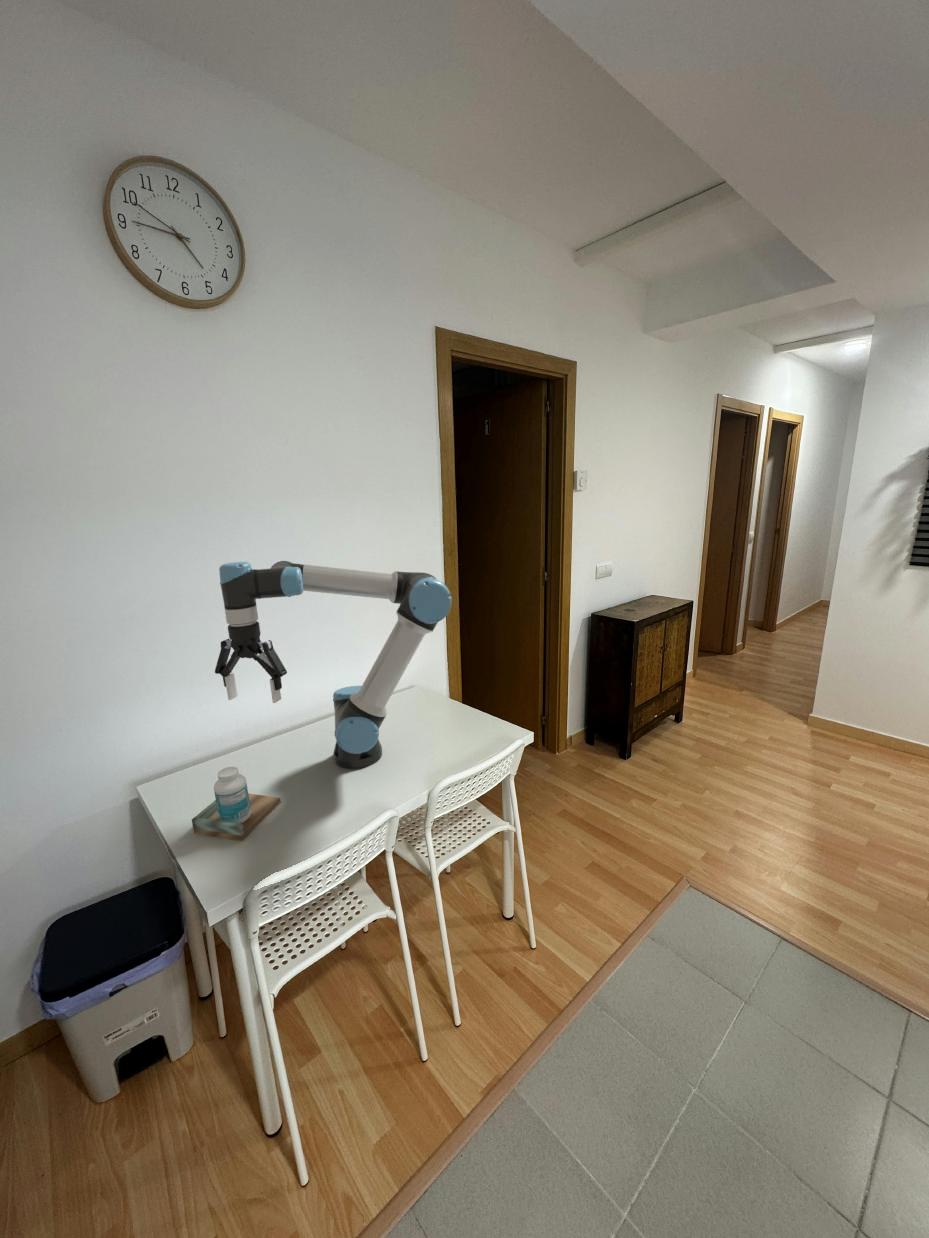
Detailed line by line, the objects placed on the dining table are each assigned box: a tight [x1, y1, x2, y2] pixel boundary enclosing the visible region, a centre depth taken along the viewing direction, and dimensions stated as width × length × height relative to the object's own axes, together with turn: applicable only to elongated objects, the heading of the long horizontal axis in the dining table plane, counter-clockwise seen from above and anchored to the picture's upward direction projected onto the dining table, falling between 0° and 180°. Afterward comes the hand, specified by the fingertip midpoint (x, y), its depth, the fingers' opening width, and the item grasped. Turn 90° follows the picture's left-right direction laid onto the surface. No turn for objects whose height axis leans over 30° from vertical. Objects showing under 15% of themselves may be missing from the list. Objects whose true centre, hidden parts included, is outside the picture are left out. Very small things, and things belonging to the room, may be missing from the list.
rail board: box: [191, 793, 282, 842], centre depth 130 cm, size 14×16×4 cm
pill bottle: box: [213, 766, 251, 824], centre depth 126 cm, size 8×7×14 cm
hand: (254, 699), depth 134 cm, fingers open, 13 cm apart
